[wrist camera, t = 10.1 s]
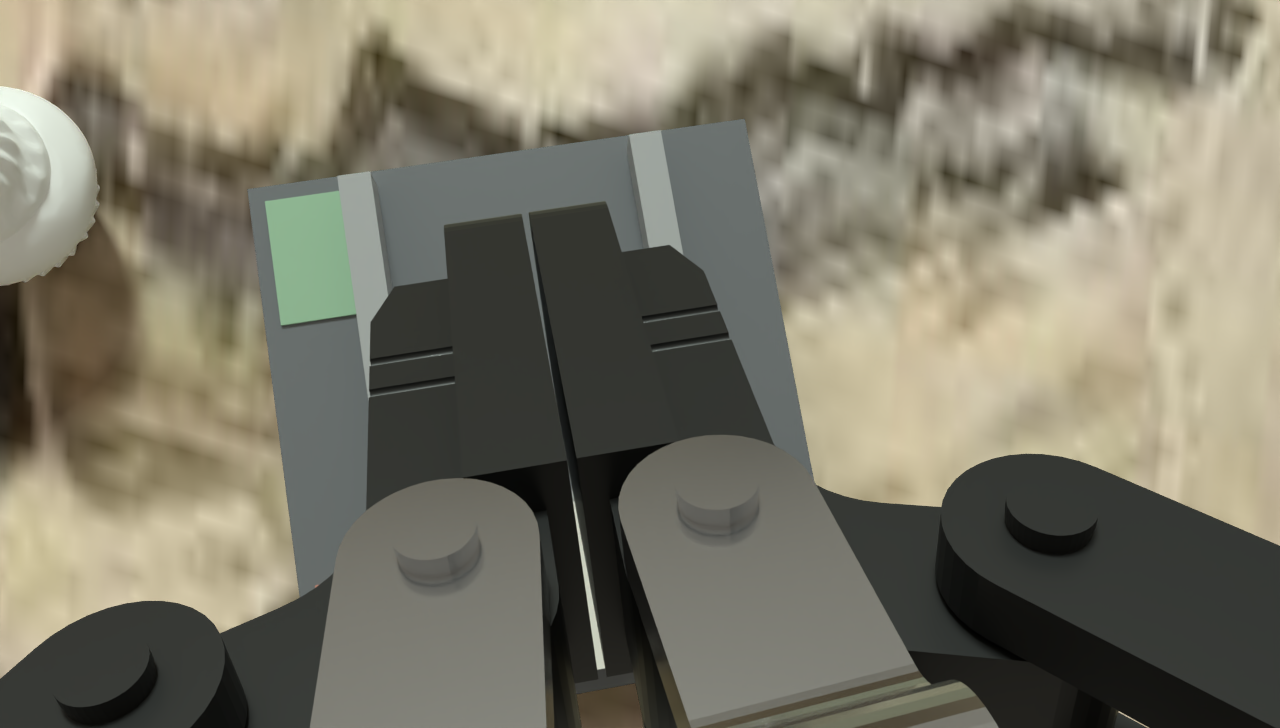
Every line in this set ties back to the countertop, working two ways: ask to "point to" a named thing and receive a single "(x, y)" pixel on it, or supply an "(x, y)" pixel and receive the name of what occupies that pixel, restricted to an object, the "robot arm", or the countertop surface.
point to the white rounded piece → (41, 186)
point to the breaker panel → (415, 252)
